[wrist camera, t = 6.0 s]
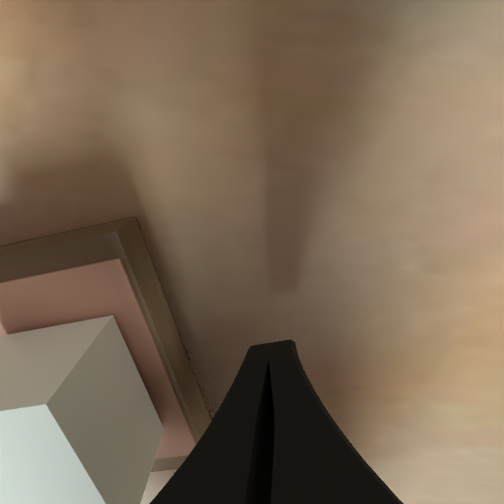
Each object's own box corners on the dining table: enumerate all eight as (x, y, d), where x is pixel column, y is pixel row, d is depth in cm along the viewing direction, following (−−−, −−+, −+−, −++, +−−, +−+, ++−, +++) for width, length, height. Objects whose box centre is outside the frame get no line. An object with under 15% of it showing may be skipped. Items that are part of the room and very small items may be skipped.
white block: (164, 429, 13) (127, 540, 9) (65, 442, 13) (-2, 552, 10) (112, 315, 11) (45, 404, 7) (0, 336, 11) (-108, 427, 8)
